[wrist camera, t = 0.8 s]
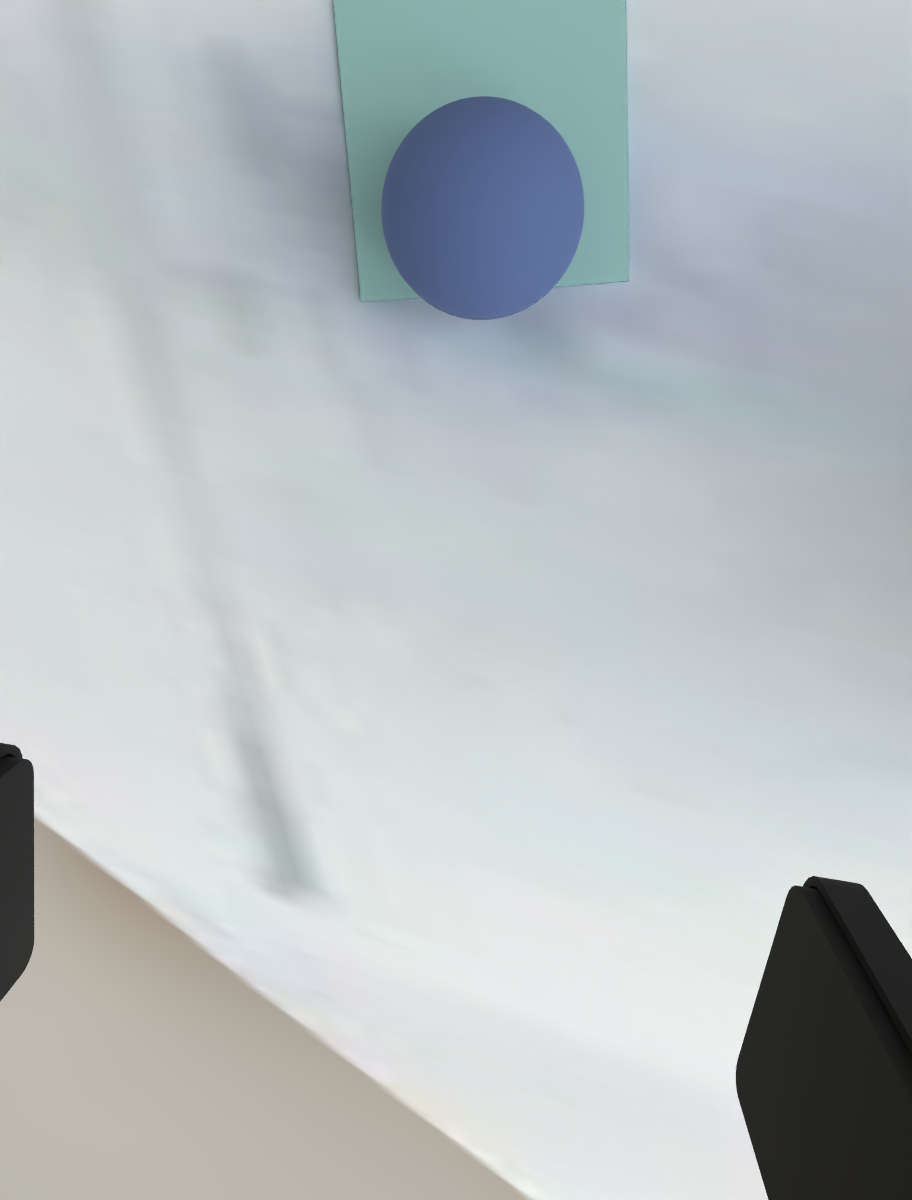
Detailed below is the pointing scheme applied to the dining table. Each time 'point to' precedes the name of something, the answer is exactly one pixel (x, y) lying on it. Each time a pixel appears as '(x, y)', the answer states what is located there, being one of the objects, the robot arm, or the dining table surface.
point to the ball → (482, 208)
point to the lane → (497, 69)
